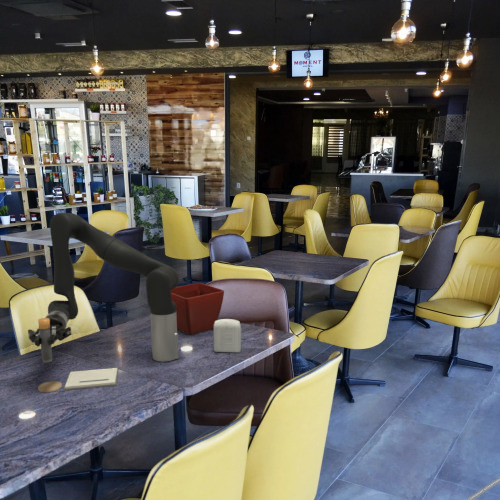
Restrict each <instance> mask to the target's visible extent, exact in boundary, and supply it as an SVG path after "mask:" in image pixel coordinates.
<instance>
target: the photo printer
mask: <svg viewBox="0 0 500 500" xmlns="http://www.w3.org/2000/svg"><path fill="white" fill-rule="evenodd" d="M240 323H241V322H240V321H239V320H237V319H234V318H233V319H231V318H223V319H222V318H221V319H218V320H217V321H215V324H214V329H213V351H214V352H216V353H241V351H242V326H241V324H240Z"/></svg>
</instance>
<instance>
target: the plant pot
mask: <svg viewBox="0 0 500 500" xmlns="http://www.w3.org/2000/svg"><path fill="white" fill-rule="evenodd" d="M224 295H225V290H223V289H221V288H217V287H215V286H211V285H208V284H205V283H201V282H197V283H196V282H195V283H190V284H186V285H180V286H176V287H175V288H174V289H172V290H171V299H172V301H173V302H175V303H176V312H177V330H179V331H181V332H183V333H185V334H187V335H194V334H199V333H203V332H206V331H209V330H214V324H215V321H217V320H219V316H220V313H221V309H222V306H223V301H224Z"/></svg>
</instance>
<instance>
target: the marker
mask: <svg viewBox="0 0 500 500" xmlns="http://www.w3.org/2000/svg"><path fill="white" fill-rule="evenodd" d="M37 320H38V323H37V324H38V328H39V330H40V341H41V344H40V351H41V359H42V363H44V364H46V363H52V361H53V350H52V349H53V348H52V345H51V346H49V344H48V339H49V337H50V319H49V318H45V317H43V318H39V319H37Z"/></svg>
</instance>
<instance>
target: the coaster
mask: <svg viewBox="0 0 500 500" xmlns="http://www.w3.org/2000/svg"><path fill="white" fill-rule="evenodd" d="M62 387H63V384H62V382H61V381H57V380H54V381H53V380H52V381H51V380H50V381H46V382H43V383H41V384H40V385H39V386H38V388H37V389H38V392H40V393H44V394H45V393H47V394H49V393H53V392H56V391H58V390H61V388H62Z"/></svg>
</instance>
